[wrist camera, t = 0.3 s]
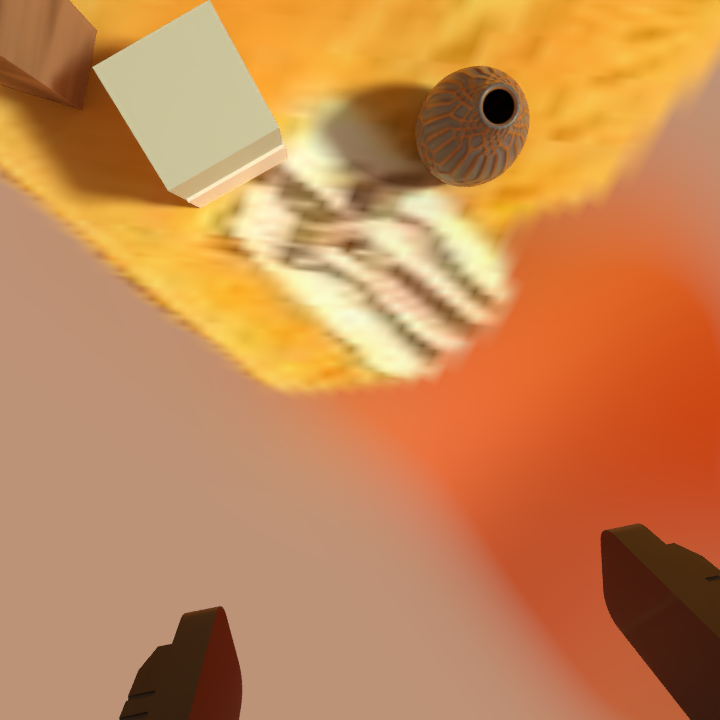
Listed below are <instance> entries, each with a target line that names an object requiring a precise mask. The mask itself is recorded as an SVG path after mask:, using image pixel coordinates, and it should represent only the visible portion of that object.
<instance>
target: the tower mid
mask: <svg viewBox="0 0 720 720" xmlns="http://www.w3.org/2000/svg"><path fill="white" fill-rule="evenodd" d="M92 68H93V69H94V71H95V72H96V74H97V76H98V77H99V79H100V81H101V82H102V84H103V86H104V87H105V89H106V90H107V92H108V94H109V95H110V97H111V99H112V100H113V102H114V103H115V105H116V107H117V108H118V110H119V112H120V113H121V115H122V117H123V118H124V120H125V121H126V123H127V125H128V126H129V128H130V130H131V131H132V133H133V134H134V136H135V138H136V139H137V141H138V143H139V144H140V146H141V148H142V149H143V151H144V152H145V154H146V156H147V157H148V159H149V161H150V162H151V164H152V166H153V167H154V169H155V170H156V172H157V174H158V175H159V177H160V179H161V180H162V182H163V183H164V185H165V187H166V188H167V190H168V191H169V192H171V193H173V194H175V195H177V196H179V197H181V198H183V199H185V200H186V199H187V198H189V197H191V196H193V195H194V194H196V193H198V192H200V191H201V190H203V189H205V188H207V187H208V186H210V185H212V184H214V183H215V182H217V181H219V180H221V179H222V178H224V177H226V176H228V175H229V174H231V173H233V172H235V171H236V170H238V169H240V168H242V167H243V166H245V165H247V164H249V163H250V162H252V161H254V160H256V159H257V158H259V157H261V156H263V155H264V154H266V153H268V152H270V151H271V150H273V149H275V148H277V147H278V146H280V145H282V144H283V143H282V138H281V134H280V129H279V126H278V125H277V123H276V121H275V119H274V117H273V115H272V114H271V112H270V110H269V108H268V106H267V104H266V103H265V101H264V99H263V97H262V95H261V93H260V92H259V90H258V88H257V86H256V84H255V82H254V81H253V79H252V77H251V75H250V73H249V71H248V70H247V68H246V66H245V64H244V62H243V61H242V59H241V57H240V55H239V53H238V51H237V50H236V48H235V46H234V44H233V42H232V40H231V39H230V37H229V35H228V33H227V31H226V29H225V28H224V26H223V24H222V22H221V20H220V18H219V17H218V15H217V13H216V11H215V9H214V7H213V6H212V4H211V2H210V0H208V1H206V2H205V3H203V4H201V5H199V6H198V7H196V8H194V9H192V10H191V11H189V12H187V13H185V14H184V15H182V16H180V17H178V18H177V19H175V20H173V21H171V22H170V23H168V24H166V25H165V26H163V27H161V28H159V29H158V30H156V31H154V32H152V33H151V34H149V35H147V36H145V37H144V38H142V39H140V40H138V41H137V42H135V43H133V44H132V45H130V46H128V47H126V48H125V49H123V50H121V51H119V52H118V53H116V54H114V55H112V56H111V57H109V58H107V59H105V60H104V61H102V62H100V63H98V64H97V65H95V66H93V67H92Z"/></svg>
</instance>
